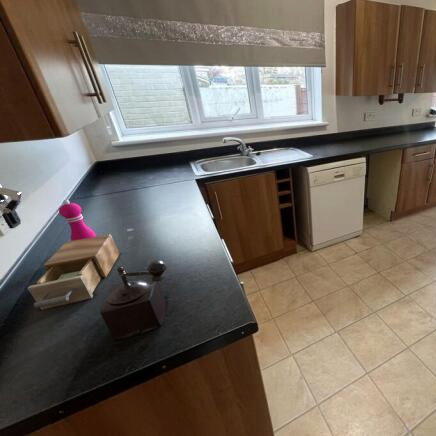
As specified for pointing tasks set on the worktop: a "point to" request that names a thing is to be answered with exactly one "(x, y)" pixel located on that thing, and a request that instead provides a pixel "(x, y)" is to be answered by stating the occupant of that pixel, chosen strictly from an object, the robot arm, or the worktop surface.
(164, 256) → the worktop surface
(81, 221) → the pepper mill
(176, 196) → the worktop surface
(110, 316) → the manual coffee grinder
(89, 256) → the cabinet
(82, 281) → the drawer
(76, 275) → the block
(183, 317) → the worktop surface
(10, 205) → the robot arm
